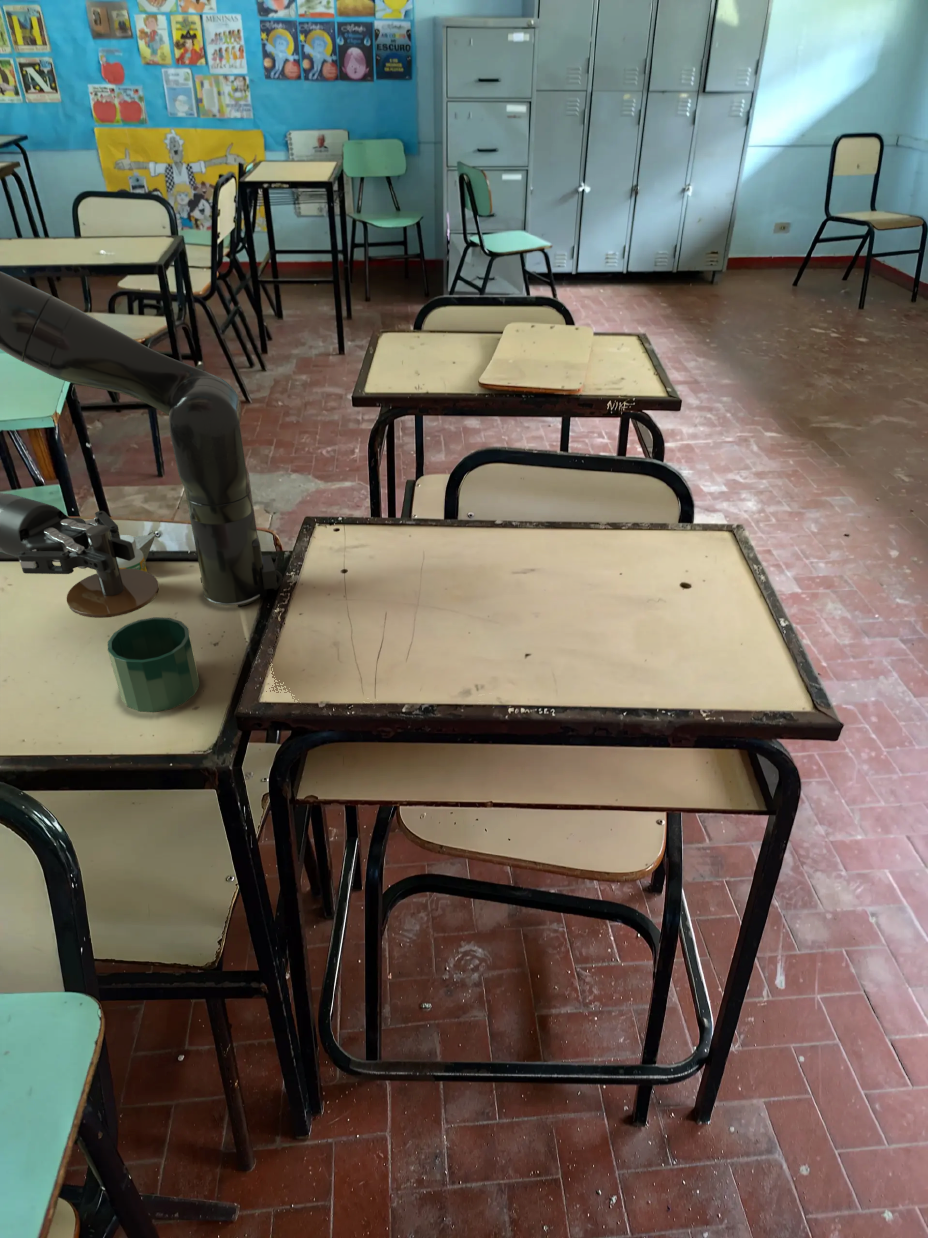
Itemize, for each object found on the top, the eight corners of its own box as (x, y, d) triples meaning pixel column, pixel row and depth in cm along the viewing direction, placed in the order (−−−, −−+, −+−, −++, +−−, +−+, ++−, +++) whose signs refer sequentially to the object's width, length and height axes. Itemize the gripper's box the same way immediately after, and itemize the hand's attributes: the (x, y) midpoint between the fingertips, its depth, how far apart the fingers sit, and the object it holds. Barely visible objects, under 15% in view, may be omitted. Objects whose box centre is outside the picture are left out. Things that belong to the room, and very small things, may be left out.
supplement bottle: (131, 583, 134) (118, 529, 129) (159, 590, 133) (147, 536, 127) (108, 600, 130) (93, 545, 125) (136, 607, 129) (122, 552, 123)
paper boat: (85, 559, 138) (123, 523, 143) (115, 587, 141) (151, 552, 146) (114, 544, 130) (153, 507, 135) (144, 574, 132) (182, 537, 137)
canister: (196, 663, 117) (186, 611, 112) (202, 706, 109) (191, 653, 105) (121, 676, 114) (107, 624, 110) (122, 721, 107) (107, 668, 102)
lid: (158, 570, 112) (144, 504, 106) (161, 613, 103) (146, 544, 98) (70, 583, 109) (51, 516, 103) (66, 628, 100) (45, 558, 95)
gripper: (-39, 523, 100) (68, 556, 94) (56, 479, 111) (157, 506, 104) (-19, 577, 104) (84, 613, 98) (70, 530, 115) (168, 559, 109)
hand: (121, 558), depth 101 cm, fingers closed on lid, 2 cm apart
